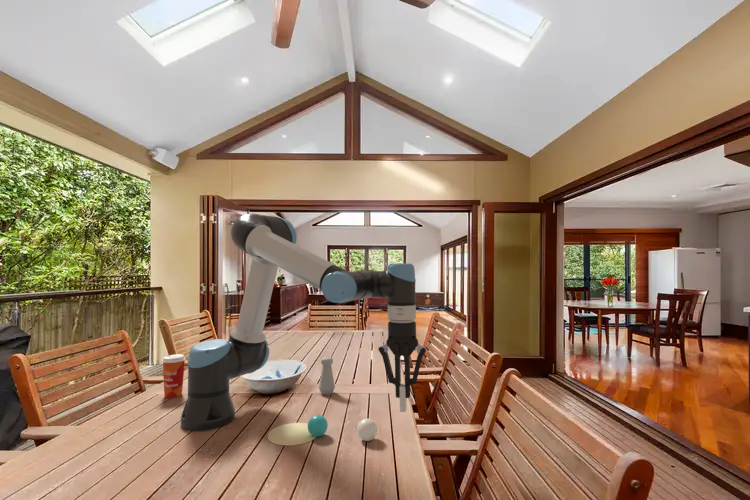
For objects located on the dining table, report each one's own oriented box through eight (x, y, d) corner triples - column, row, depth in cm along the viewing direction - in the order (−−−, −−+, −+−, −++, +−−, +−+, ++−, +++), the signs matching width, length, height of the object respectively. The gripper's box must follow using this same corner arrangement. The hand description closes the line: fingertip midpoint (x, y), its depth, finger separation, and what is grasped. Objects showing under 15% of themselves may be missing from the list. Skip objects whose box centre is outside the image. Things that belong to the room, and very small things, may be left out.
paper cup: (156, 397, 137) (156, 357, 138) (174, 390, 144) (175, 353, 145) (172, 400, 134) (172, 359, 135) (190, 393, 141) (190, 355, 142)
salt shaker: (331, 396, 138) (332, 360, 138) (316, 395, 139) (316, 359, 140) (336, 391, 144) (336, 356, 144) (322, 390, 145) (322, 355, 145)
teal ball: (304, 439, 104) (304, 418, 104) (311, 430, 110) (311, 411, 110) (324, 441, 103) (324, 420, 104) (330, 432, 109) (330, 412, 109)
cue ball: (354, 443, 102) (354, 422, 102) (359, 434, 107) (359, 414, 107) (375, 445, 101) (375, 424, 101) (378, 436, 106) (378, 416, 106)
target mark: (258, 443, 102) (258, 442, 102) (280, 421, 116) (280, 421, 116) (308, 447, 100) (308, 446, 100) (325, 425, 113) (325, 424, 113)
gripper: (375, 322, 101) (376, 413, 100) (425, 323, 99) (427, 416, 98) (380, 318, 108) (381, 403, 107) (426, 319, 106) (428, 406, 105)
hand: (403, 409), depth 102 cm, fingers closed
